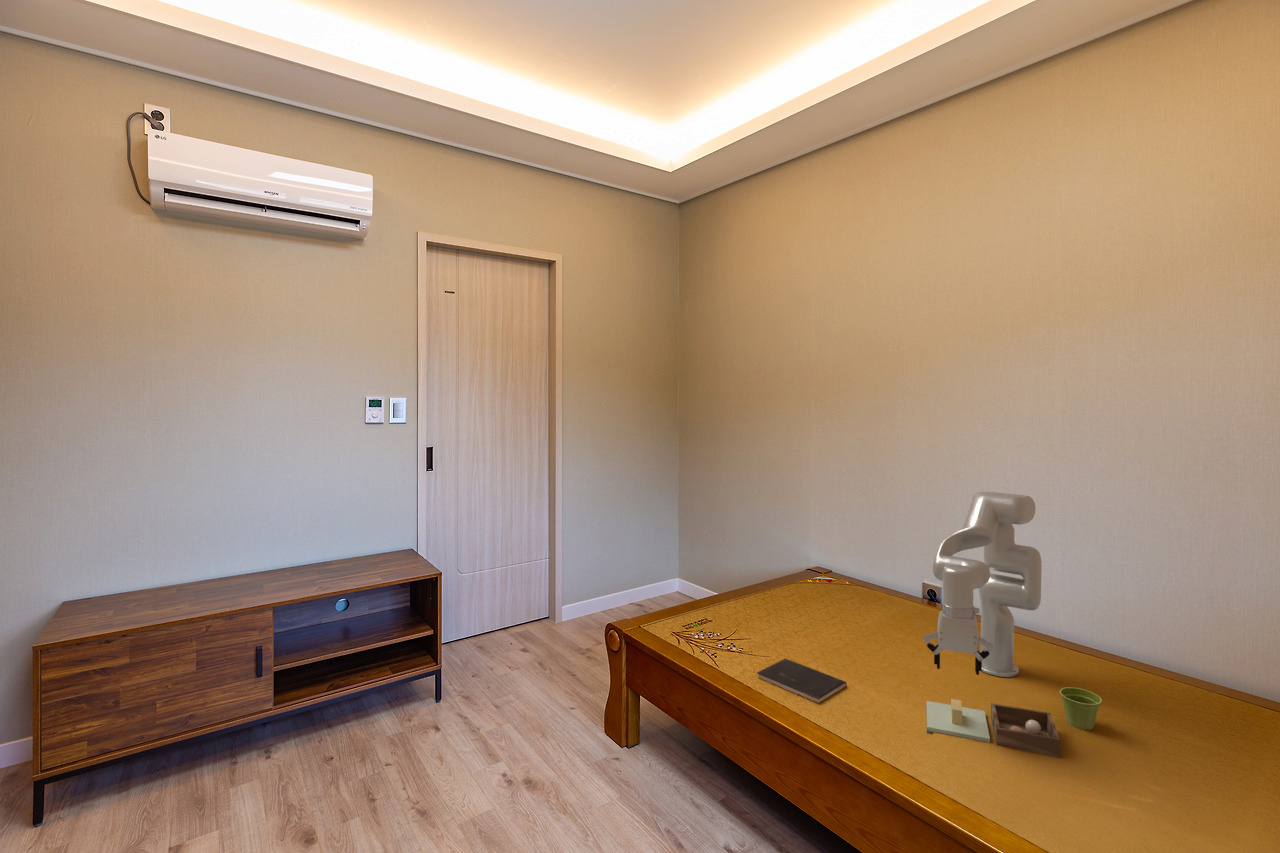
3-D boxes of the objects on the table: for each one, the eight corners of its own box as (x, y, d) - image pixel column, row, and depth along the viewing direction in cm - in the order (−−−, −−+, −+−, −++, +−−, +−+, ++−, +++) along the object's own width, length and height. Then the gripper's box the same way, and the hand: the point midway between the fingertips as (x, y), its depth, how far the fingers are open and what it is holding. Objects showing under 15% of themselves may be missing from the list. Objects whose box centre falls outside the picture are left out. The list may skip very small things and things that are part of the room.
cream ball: (1024, 728, 167) (1024, 716, 167) (1039, 731, 166) (1040, 718, 166) (1026, 735, 164) (1026, 722, 164) (1042, 738, 163) (1042, 725, 162)
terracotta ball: (1007, 734, 165) (1007, 721, 164) (1023, 737, 163) (1023, 724, 163) (1009, 741, 161) (1009, 728, 161) (1025, 745, 160) (1025, 731, 160)
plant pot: (1083, 738, 164) (1084, 706, 163) (1050, 719, 173) (1051, 689, 172) (1109, 732, 166) (1110, 701, 166) (1076, 714, 175) (1077, 684, 175)
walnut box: (990, 720, 173) (991, 702, 173) (1049, 730, 167) (1050, 712, 167) (996, 746, 160) (996, 728, 160) (1060, 759, 155) (1060, 740, 154)
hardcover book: (818, 705, 184) (818, 698, 184) (756, 679, 201) (756, 672, 201) (846, 687, 194) (846, 680, 194) (786, 664, 212) (786, 657, 211)
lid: (926, 704, 181) (926, 687, 181) (984, 714, 175) (984, 697, 175) (927, 730, 168) (927, 712, 167) (989, 742, 161) (990, 724, 161)
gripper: (992, 609, 169) (991, 668, 171) (923, 601, 176) (923, 659, 178) (995, 619, 162) (994, 681, 164) (923, 611, 169) (923, 670, 171)
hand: (957, 669), depth 171 cm, fingers open, 9 cm apart
